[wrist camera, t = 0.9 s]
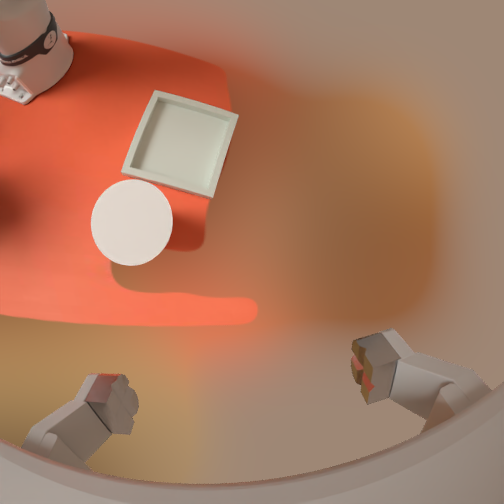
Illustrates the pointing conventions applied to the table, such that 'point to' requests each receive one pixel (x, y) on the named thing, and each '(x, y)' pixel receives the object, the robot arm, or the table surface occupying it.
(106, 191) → the cylindrical container
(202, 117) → the tray
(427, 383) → the robot arm
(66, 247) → the table surface
